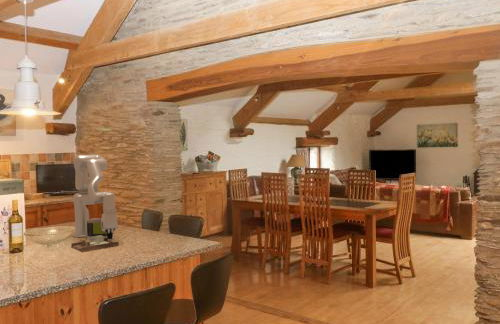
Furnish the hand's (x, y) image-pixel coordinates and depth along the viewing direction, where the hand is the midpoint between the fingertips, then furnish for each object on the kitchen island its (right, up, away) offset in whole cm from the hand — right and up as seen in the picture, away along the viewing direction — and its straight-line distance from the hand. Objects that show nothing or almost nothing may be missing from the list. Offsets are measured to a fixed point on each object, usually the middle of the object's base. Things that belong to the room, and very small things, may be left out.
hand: (110, 238), depth 303 cm
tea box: (-11, -3, +14) cm, 18 cm away
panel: (-7, -3, -6) cm, 9 cm away
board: (-8, -4, -7) cm, 11 cm away
